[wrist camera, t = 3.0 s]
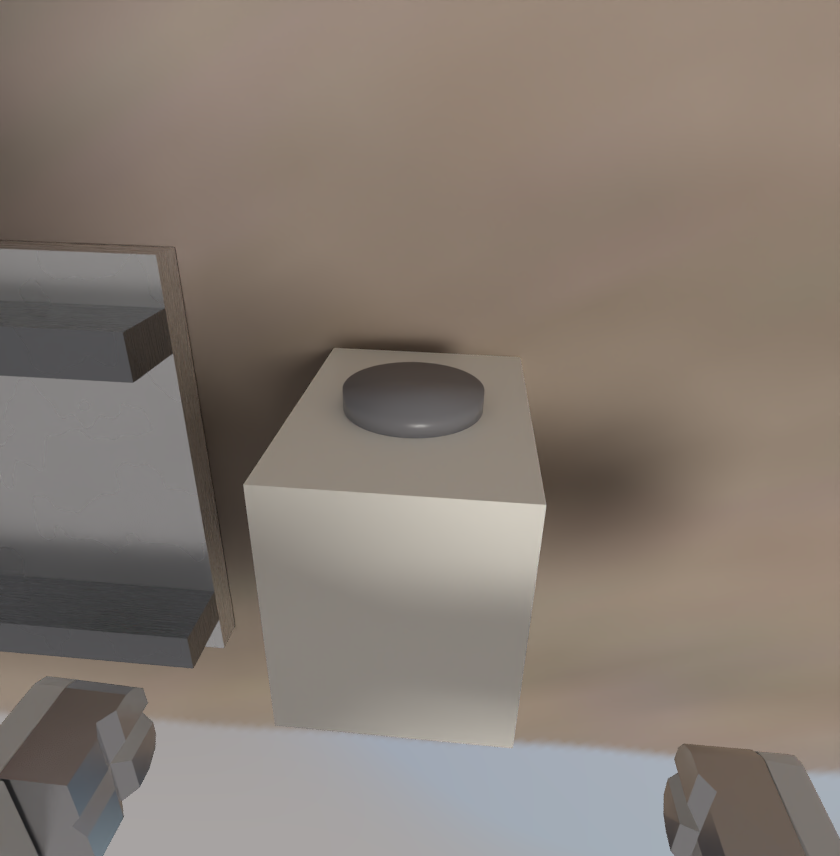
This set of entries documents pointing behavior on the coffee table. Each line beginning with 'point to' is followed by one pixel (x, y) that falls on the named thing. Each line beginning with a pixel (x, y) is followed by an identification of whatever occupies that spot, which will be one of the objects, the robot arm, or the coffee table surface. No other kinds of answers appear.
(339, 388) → the cream rectangular block
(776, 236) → the coffee table surface
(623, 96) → the coffee table surface
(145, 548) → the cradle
